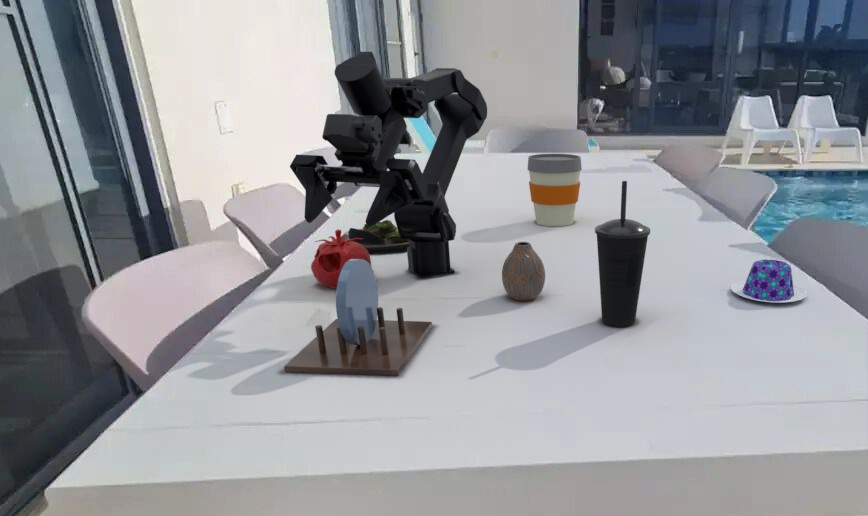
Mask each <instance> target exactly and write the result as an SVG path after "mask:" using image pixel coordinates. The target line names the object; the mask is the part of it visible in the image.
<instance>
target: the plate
mask: <svg viewBox="0 0 868 516" xmlns="http://www.w3.org/2000/svg"><path fill="white" fill-rule="evenodd" d="M371 266H372V265H371ZM371 266H370V264H369V263H368V262H367V261H366V260H364V259H350V260H348V261H347V262H346V263H345V264H344V266H343V268H342V270H341V272H340V276H339V279H338V284H337V288H336V292H335V308H336V309H335V310H336V311H335V312H336V319H338V324H339V328H340V331H341V333H342V335H343V337H344V339H345V340H346V341H347V342H348V343H349V344H351V345H360V342H359V335H358V327H360V326H363V327H364V329H365V336H366V343H368V342H369V340H370V339H371V337H372V335H373V333H374V330H375V326H376V322H377V320H378V315H377V308H378V307H379V290H378V283H377V279H376V275H375V273H374V270H373V268H371Z"/></svg>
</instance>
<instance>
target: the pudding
mask: <svg viewBox="0 0 868 516" xmlns="http://www.w3.org/2000/svg"><path fill="white" fill-rule="evenodd" d="M730 290H731V291H732V292H733V293H735V294H736V295H738V296H739V297H740V296H741V297H743V298H745V299H748V300H753V301H757V302H763V303H776V304H778V303H782V304H783V303H793V302H798V301H801V300H803V299H805V298H806V297H807V295H808V294H807V291H806V290H805V289H804V288H802V287H801V286H799V285H797V284H794V281H793V271H792V267H791V265H790V264H789V263H787V262H785V261H782V260H777V259H760V260H756V261H754V262H753V263H752V265H751V267H750V269H749V273H748V275H747V278H746V279H742V280H738V281H735V282H733V283H732V284H731V285H730Z"/></svg>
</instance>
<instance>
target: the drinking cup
mask: <svg viewBox="0 0 868 516" xmlns="http://www.w3.org/2000/svg"><path fill="white" fill-rule="evenodd" d="M627 193H628V181H627V180H622V181H621V197H620V201H621V202H620V218H616V219H611V220H607V221H605V222H603V223H601V224H599V225H596V226H595V228H594V233H595V234H596V242H597V244H596V246H597V259H598V260H597V262H598V277H599V294H600V311H601V321H602V323H603V324H604V325H605V326H609V327H613V328H627V327H631V326H633V325H634V324H635V323H636V317H637V311H638V304H639V297H640V293H641V292H640V291H641V285H642V284H641V283H642V279H643V272H644V265H645V257H646V251H647V244H648V238H649V235H651V228H650V227H648V226H646V225H644V224H642V223H641V222H639V221H637V220H634V219H629V218H628V219H627V218H626V216H627V212H626V211H627Z"/></svg>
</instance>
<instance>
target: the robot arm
mask: <svg viewBox="0 0 868 516" xmlns="http://www.w3.org/2000/svg"><path fill="white" fill-rule="evenodd" d="M334 76H335V78H336V80H337V82H338V84H339V86H340V88H341V90H342V92H343V94H344V96H345V98H346V100H347V101H348V104H349V106H350V108H351V110H352V112H353V113H354V114H355V115H354V114H349V113H347V114H346V113H345V114H343V113H328V114H326V118H325V122H324V126H323V131H322V137H321V138H322V139H323V140H324V141H327V142H328V143H329V144H330V145H331V146H332V147H334V149H335V152H334V153H333V155H334V156H335V158H336V160H337V161H341V164H340V165H339V164H338V165H336V164H328V162H327V160H326V158H325V157H324V156H323V155H317V154H316V155H315V154H295V156H294V158H293V159H292V161H291V163H290V165H289V169H290V170H291V171H292V173H293V174H294V175H295V177H296V178H297V180H298V182H299V183H300V185H301V186H302V188H303V189H304V190H305V199H304V200H305V201H304V220H305V221H306V222H307V223H308V224H311V223H312V222H313V221H314V220H316V219H317V217H318V216H320V214H322V212H323V211H324V210H325V208H326V207H327V206H328V205H329V204H330V203H331V202H332V200H333V196H332V195H333V194H335V193H336V191H337V189H338V183H350V184H354V185H355V187H367V188H378V190H377V192H376V195H375V196H374V199H373V201H372V202H371V205H370V208H369V210H368V212H367V215H366V217H365V224H367V226H368V227H372V226H374V225H375V224H377V223H378V222H382V221H384V219H386V218H388V217H389V216H391V215H392V214H393V216H394V222H395V224H396V225H395V226H396V227H397V228H398V231H399V234H400V238H401V239H409V247H408V248H407V251H406V254H407V255H406V256H407V263H408V264H407V265H408V267H407V270H408V271H409V272H410V273H411V274H414V275H415V276H417V277H418V278H419V279H427V278H432V277H437V276H444V275H448V274H454V273H455V272H456V270H455V269H454V268H453V267H451V256H450V255H451V253H450V243H449V242H451V241H455V237H456V234H457V224H456V222H455V220H454V219H453V217H452V216H451V214H450V213H449V212H450V209H449V206H448V203H447V200H446V194H447V191H448V189H449V186H450V184H451V181H452V178H453V175H454V173H455V171H456V168H457V166H458V163H459V161H460V158H461V155H462V153H463V149H464V147H465V144H466V142H467V140H469V139H470V138H471V137H473V136H475V135H476V134H478V133H479V132H480V130H481V129H482V127H483V125H484V123H485V121H486V120H487V117H488V105H487V102H486V100H485V98H484V96H483V94H482V92H481V90H480V88H478V86H476V85H475V84H473V83H472V82H470V80H468V79H467V78H465V76H464V73H463V72H462V70H461V69H458V68H457V67H454V68H453V67H436V68H435V69H432V70H431V71H428V72H425V73H422V74H419V75H416V76H412V77H383V74H382V73H381V70H380V69H379V66H378V64H377V60H376V57H375V55H374V53H373V51H358V53H357V54H356V55H355V56H352V57H349V58H347V59H345V60H343V61H342V62H341V63H339V64H337V65H336V67H335V69H334ZM433 102H434V103H433ZM431 103H433V107H434V108H435V109H436V111H437V113H438V116H439V119H440V122H441V128H440V130H439V132H438V135H437V136H436V139H435V142H434V144H433V146H432V150H431V151H430V154H429V156H428V158H427V161H426V164H425V166H424V169H423V171H422V170H421V167H420V165H419V163H418V162H417V160H416V159H413V158H412V159H411V158H396V157H395V154H396V152H397V150H398V147H399V146H400V145H410V144H411V137H410V134H409V133H408V130H407V129H408V126H407V122H406V120H405V119H420V118H421V117H422V116H423V115H425V113H427V111H428V110H429V104H431ZM357 115H358V116H357Z"/></svg>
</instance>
